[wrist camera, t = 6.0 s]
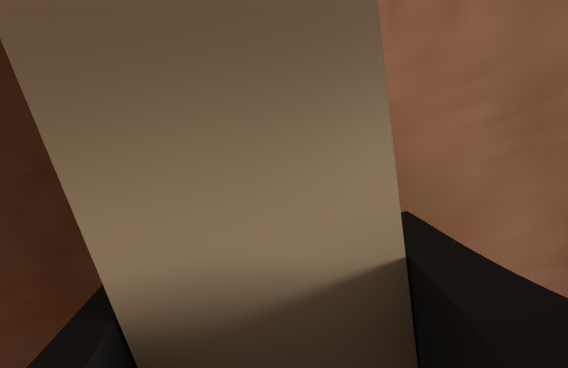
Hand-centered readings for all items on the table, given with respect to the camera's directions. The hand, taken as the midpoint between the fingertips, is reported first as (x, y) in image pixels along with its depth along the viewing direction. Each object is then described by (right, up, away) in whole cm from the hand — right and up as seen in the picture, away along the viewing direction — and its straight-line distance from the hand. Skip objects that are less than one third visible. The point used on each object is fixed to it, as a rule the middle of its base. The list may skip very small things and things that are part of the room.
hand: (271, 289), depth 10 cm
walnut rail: (0, +2, +2) cm, 2 cm away
